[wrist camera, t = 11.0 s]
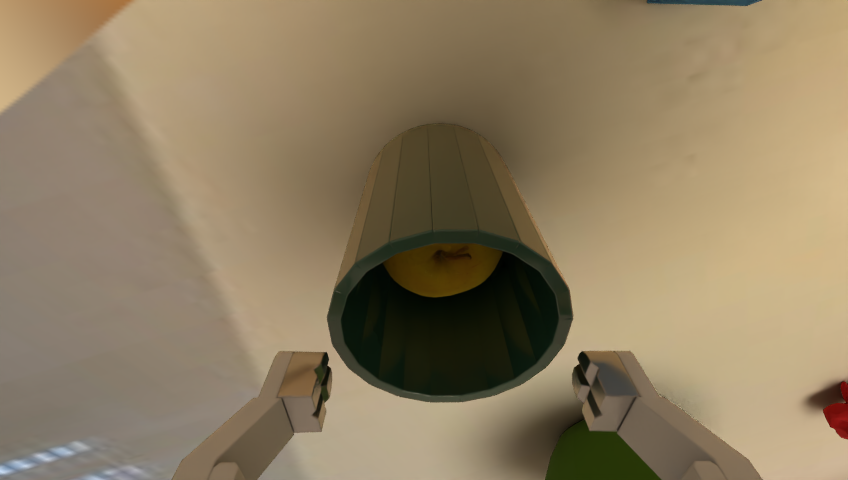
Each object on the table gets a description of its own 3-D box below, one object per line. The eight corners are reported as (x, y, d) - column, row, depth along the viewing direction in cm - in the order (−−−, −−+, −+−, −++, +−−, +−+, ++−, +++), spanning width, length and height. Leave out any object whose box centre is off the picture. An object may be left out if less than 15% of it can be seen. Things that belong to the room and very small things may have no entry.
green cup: (360, 122, 20) (308, 230, 11) (518, 123, 20) (602, 230, 11) (372, 252, 25) (343, 403, 15) (500, 252, 25) (546, 402, 15)
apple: (501, 141, 20) (541, 213, 13) (485, 238, 23) (510, 334, 17) (383, 136, 20) (364, 207, 13) (385, 235, 23) (371, 331, 17)
